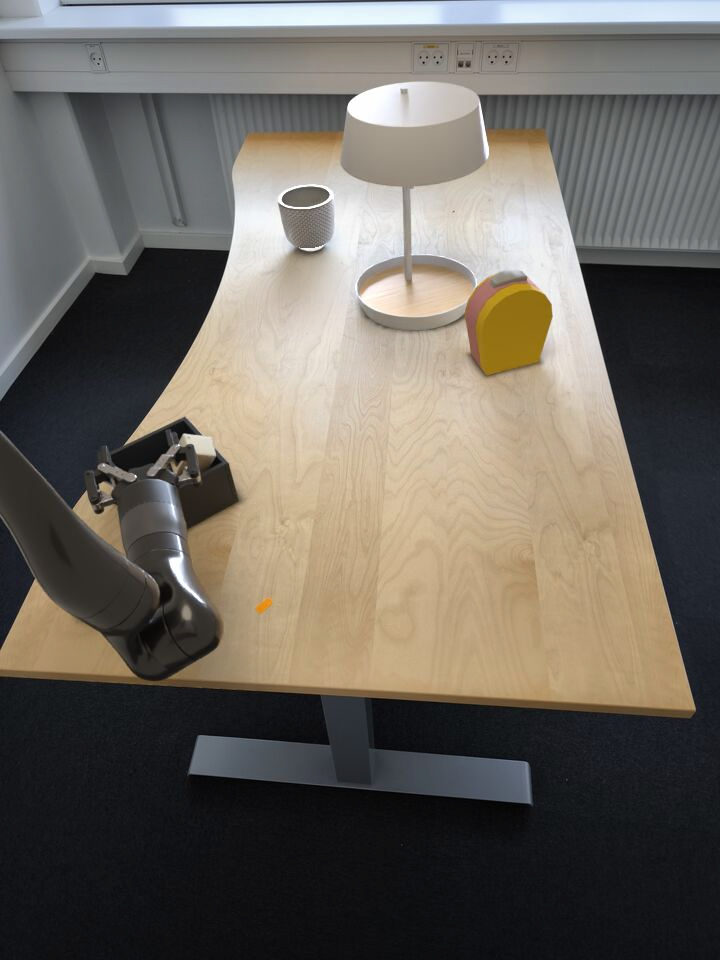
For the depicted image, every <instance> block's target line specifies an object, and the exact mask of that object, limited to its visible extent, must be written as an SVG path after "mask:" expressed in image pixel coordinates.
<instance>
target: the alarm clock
mask: <svg viewBox="0 0 720 960" xmlns="http://www.w3.org/2000/svg"><path fill="white" fill-rule="evenodd" d="M552 304H553V303H552V302H551V301H550V300H549V298H548V296H547V295H546V294H545V293H544V292H543V291H542V290H541V289H540V288H539V287H538V286H537V285H536V284H535V283H534V282H533V281H532V280H531V279H530V278H529V276H528V275H526V273H524V272H523V270H520V269H512V268H511V269H510V268H509V269H504V270H500V271H498V272H497V273H494V274H492V275H489V276H487V277H486V278H485V279H484V280H483V281H482V282H480V283H479V284H477V287H476V288H475V290H474V291H473V293H472V294H471V296H470V297H469V299H468V301H467V305H466V309H465V314H464V318H465V320H464V321H465V325H466V331H467V337H468V345H469V351H470V356H471V357H472V358H473V360H474V361H475V363H477V365H478V366H479V368H480V369H481V370H482V371H483V373H484V374H485V375H486V376H490V375H494V374H499V373H501V372H506V371H510V370H513V369H518V368H522V367H525V366H529V365H533V364H537V363H539V362H540V360H541V355H542V353H543V350H544V347H545V344H546V340H547V337H548V333H549V330H550V326H551V324H552V320H553V305H552Z"/></svg>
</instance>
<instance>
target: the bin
mask: <svg viewBox="0 0 720 960" xmlns="http://www.w3.org/2000/svg"><path fill="white" fill-rule="evenodd" d="M169 429H170V430H171V433H172V432H175V433H177V436H178V439H179V441H180V439H181V437H182V435H183V434H191V435H200V436H204V434H203V433H201V431H200V430H199V429H198V428H197V427H196V426H195V425H194V423H192V422H191V421H190V420H189V418H188V417H187V416H183V417H181V418H179V419H176V420H174V421H172V422H170V423H168V424H166V425H164V426H162V427H159V428H157V429H156V430H154V431H152V432H149V433H147V434H145V435H143V436H140V437H139V438H137V439H135V440H132V441H130V442H129V443H126V444H124V445H122V446H120V447H117V448H115V449H113V450H111V451H109V453H110V455H111V460H112V467H113V468H114V467H118V468H120V469H121V470H123V471H125V472H128V471H129V469H132V468H139V467H143V466H145V465H148V464H151V463H153V465H155V463H156V462H157V461H158V459H159V458H160V457H161V455H162V454H166V453H167V451H168V450H169V446H168V441H167V437H166V433H165V430H169ZM215 453H216V457H215V459H214V461H213V462H212V464H211V466H210V468H209V469H208V470H207V471H205V472H203V473H201V480H202V485H201V486H200V487H197V488H196V487H193V485H192V484H188V485H183V486H181V487H180V489H179V492H178V493H179V497H180V502H181V506H182V510H183V515H184V519H185V522H186V524H187V530H188V529H190V528H191V527H193V526H196V525H197V524H199V523H201V522H203V521H204V520H206V519H208V518H210V517H211V516H213V515H216V514H218V513H219V512H221V511H222V510H223V511H224V510H225V509H227V508H228V507H230V506H232V505H234V504H236V503H237V502H239V497H238V496H239V495H238V493H237V489H236V485H235V481H234V478H233V474H232V469H231V466H230V463H229V461H228V460H227V459H226V458H225V457H224V455H222V454H221V453H220V452H219V451H218V450H217V449H216V448H215Z"/></svg>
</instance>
